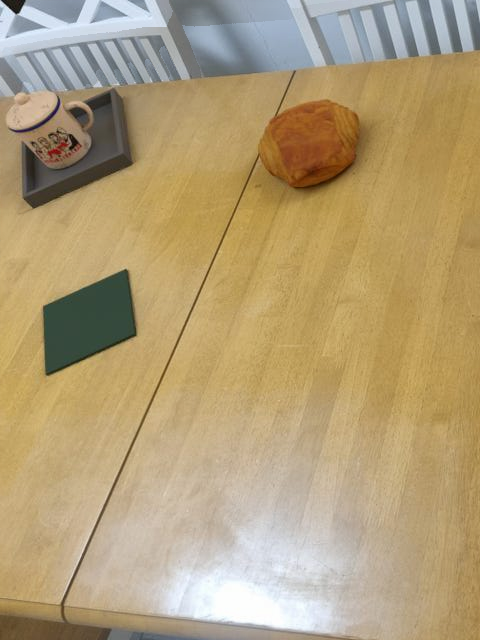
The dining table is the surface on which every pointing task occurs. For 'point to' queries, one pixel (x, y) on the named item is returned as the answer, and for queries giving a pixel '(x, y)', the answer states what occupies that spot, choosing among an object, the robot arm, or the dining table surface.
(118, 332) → the mat
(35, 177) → the tray
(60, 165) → the teacup with lid
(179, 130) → the dining table surface
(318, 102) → the croissant
